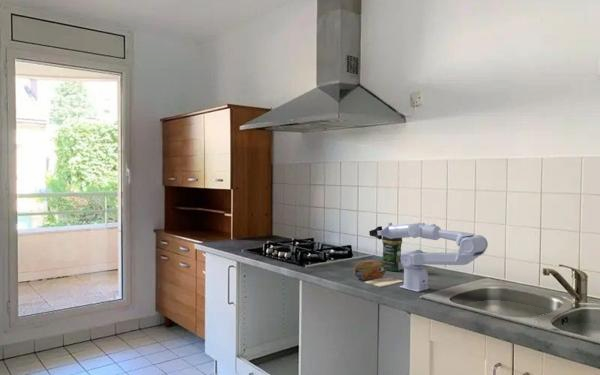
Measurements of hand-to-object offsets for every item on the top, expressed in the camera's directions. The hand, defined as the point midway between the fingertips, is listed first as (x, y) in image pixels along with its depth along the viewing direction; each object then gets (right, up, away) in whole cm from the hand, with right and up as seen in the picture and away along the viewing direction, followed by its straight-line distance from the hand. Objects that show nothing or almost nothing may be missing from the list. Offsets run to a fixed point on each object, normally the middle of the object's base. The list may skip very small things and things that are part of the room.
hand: (375, 232), depth 199 cm
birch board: (+3, -21, -6) cm, 22 cm away
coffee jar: (+12, -21, +20) cm, 31 cm away
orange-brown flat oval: (-3, -21, +1) cm, 22 cm away
